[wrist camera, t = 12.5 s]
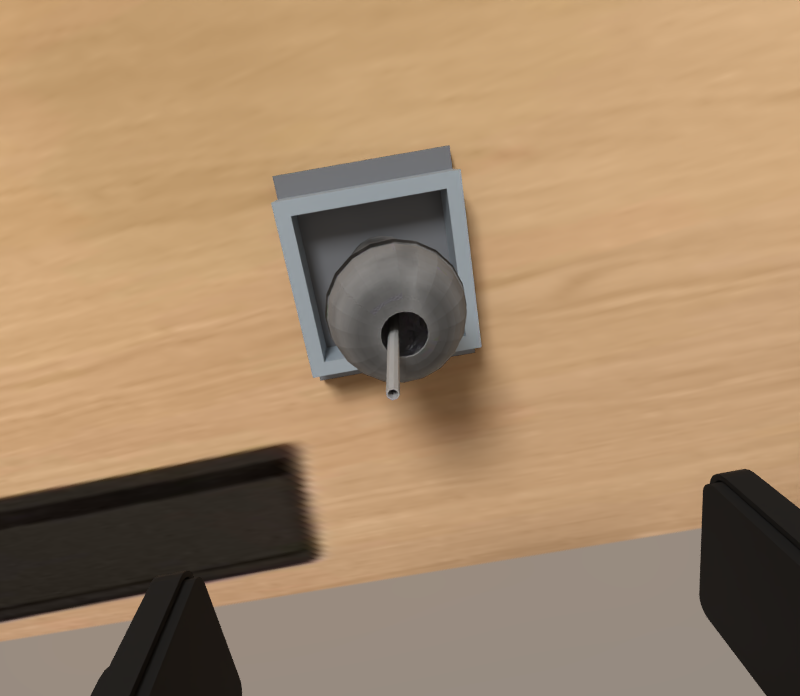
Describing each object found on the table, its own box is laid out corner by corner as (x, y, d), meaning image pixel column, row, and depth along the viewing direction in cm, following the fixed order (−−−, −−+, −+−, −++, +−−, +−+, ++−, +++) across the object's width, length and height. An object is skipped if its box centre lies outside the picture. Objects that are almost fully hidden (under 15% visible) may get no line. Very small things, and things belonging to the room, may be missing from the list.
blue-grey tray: (446, 145, 37) (457, 143, 33) (472, 348, 42) (483, 366, 38) (274, 176, 36) (265, 177, 33) (321, 375, 41) (317, 396, 38)
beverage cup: (452, 273, 39) (554, 382, 20) (375, 335, 40) (403, 495, 21) (388, 192, 36) (436, 229, 18) (308, 261, 37) (272, 365, 19)
